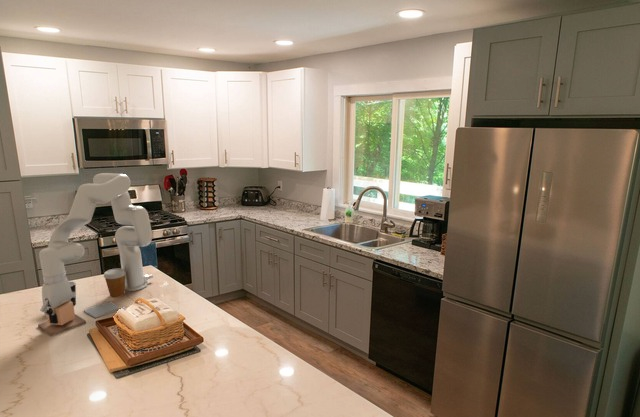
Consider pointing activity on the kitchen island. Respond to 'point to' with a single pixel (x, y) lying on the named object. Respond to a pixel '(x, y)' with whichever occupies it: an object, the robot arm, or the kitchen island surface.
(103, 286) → the kitchen island surface
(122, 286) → the disposable coffee cup
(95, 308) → the mat
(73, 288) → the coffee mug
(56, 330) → the post base
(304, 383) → the kitchen island surface
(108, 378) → the kitchen island surface
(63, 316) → the coin bank
